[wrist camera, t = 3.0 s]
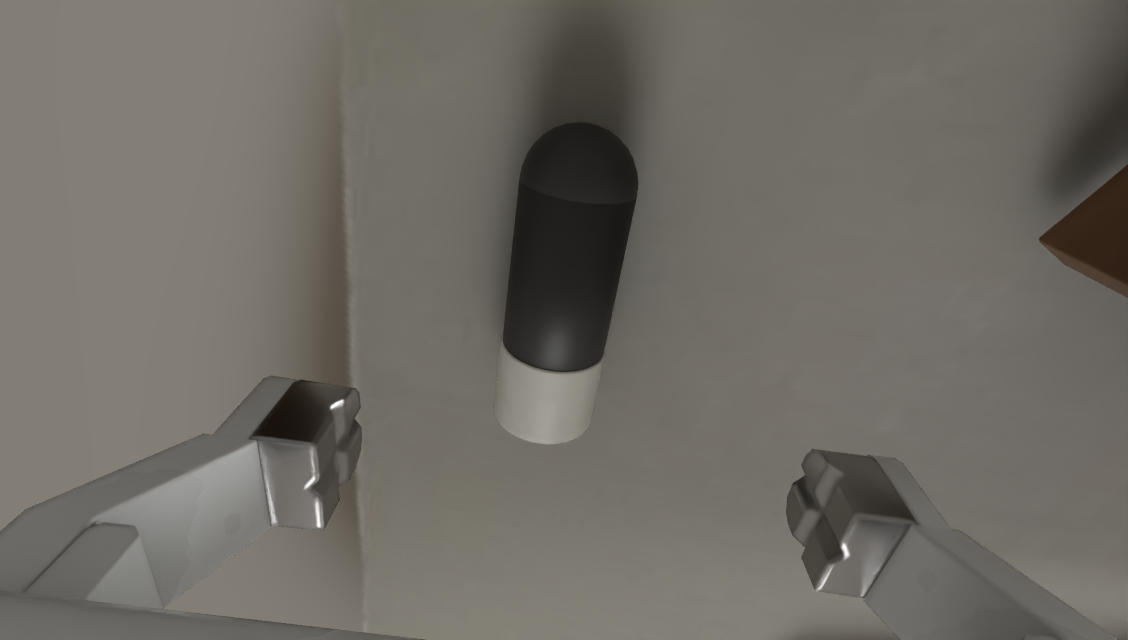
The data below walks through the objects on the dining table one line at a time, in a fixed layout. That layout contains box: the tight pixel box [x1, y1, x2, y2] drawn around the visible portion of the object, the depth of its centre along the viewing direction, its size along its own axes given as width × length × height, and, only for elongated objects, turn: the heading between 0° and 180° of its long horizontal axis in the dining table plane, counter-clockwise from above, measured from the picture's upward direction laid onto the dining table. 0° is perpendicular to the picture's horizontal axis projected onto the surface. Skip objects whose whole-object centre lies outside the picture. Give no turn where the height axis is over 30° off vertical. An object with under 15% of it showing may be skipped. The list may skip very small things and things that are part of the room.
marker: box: [494, 122, 638, 444], centre depth 15 cm, size 9×3×3 cm, turn 172°
